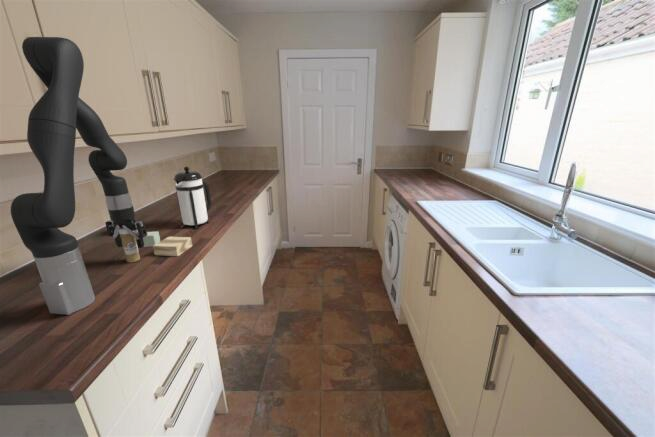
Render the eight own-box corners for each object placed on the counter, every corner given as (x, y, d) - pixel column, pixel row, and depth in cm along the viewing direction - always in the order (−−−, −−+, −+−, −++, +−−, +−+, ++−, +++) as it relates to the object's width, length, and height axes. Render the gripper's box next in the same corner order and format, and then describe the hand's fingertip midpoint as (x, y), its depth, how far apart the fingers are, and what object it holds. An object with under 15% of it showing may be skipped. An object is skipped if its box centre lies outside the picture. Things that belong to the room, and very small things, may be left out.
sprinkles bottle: (130, 263, 107) (122, 230, 103) (124, 261, 110) (115, 228, 105) (143, 259, 111) (135, 226, 107) (136, 256, 113) (128, 224, 109)
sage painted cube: (155, 246, 123) (153, 235, 121) (143, 247, 122) (140, 236, 121) (160, 241, 128) (158, 231, 126) (148, 242, 127) (146, 232, 126)
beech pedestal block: (177, 256, 113) (176, 246, 112) (154, 255, 114) (152, 245, 113) (192, 245, 122) (190, 237, 121) (171, 244, 124) (169, 236, 123)
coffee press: (214, 226, 145) (205, 167, 135) (179, 231, 139) (167, 169, 130) (213, 217, 160) (205, 163, 151) (181, 220, 155) (171, 165, 145)
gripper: (93, 208, 101) (106, 250, 106) (129, 209, 99) (140, 252, 104) (111, 202, 108) (122, 242, 113) (145, 203, 106) (155, 243, 111)
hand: (131, 247), depth 109 cm, fingers open, 8 cm apart
